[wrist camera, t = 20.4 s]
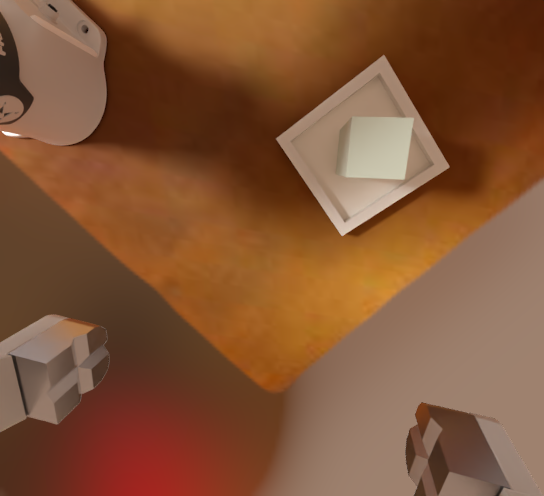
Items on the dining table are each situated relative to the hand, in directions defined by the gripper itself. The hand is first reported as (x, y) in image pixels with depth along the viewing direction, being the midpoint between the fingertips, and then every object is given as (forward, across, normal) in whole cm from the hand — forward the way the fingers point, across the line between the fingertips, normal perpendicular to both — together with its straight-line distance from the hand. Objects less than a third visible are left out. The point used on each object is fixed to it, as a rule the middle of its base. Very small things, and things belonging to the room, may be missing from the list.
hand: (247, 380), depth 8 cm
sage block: (+32, -4, -5) cm, 33 cm away
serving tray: (+33, -4, -5) cm, 34 cm away
